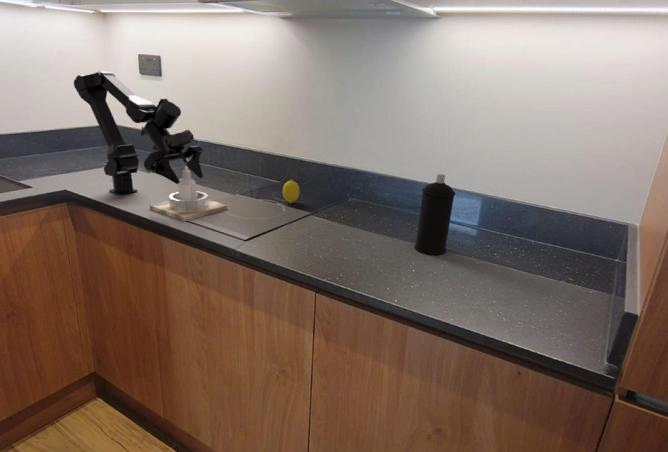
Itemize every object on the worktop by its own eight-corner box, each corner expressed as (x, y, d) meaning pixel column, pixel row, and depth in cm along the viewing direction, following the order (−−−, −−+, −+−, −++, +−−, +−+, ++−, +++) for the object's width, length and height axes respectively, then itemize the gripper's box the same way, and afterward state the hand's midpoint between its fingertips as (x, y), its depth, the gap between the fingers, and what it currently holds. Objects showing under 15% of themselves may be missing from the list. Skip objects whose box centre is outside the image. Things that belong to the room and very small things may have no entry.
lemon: (296, 206, 140) (297, 182, 137) (280, 204, 141) (280, 180, 138) (300, 201, 145) (301, 179, 142) (285, 200, 146) (285, 177, 143)
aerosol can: (440, 258, 106) (452, 180, 100) (409, 250, 110) (419, 174, 104) (450, 248, 113) (462, 175, 106) (420, 240, 117) (431, 169, 110)
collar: (162, 205, 128) (161, 195, 127) (191, 198, 137) (191, 189, 136) (185, 213, 123) (185, 203, 122) (215, 205, 132) (215, 195, 131)
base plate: (149, 209, 128) (149, 205, 128) (193, 198, 141) (193, 195, 140) (184, 221, 120) (184, 217, 120) (227, 209, 133) (227, 205, 132)
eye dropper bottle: (183, 208, 127) (181, 168, 123) (178, 203, 131) (176, 165, 127) (198, 206, 129) (196, 168, 125) (192, 201, 133) (190, 164, 129)
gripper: (147, 123, 115) (179, 169, 115) (197, 119, 131) (226, 159, 130) (130, 148, 121) (160, 192, 121) (180, 141, 137) (207, 180, 136)
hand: (190, 180), depth 127 cm, fingers open, 9 cm apart
